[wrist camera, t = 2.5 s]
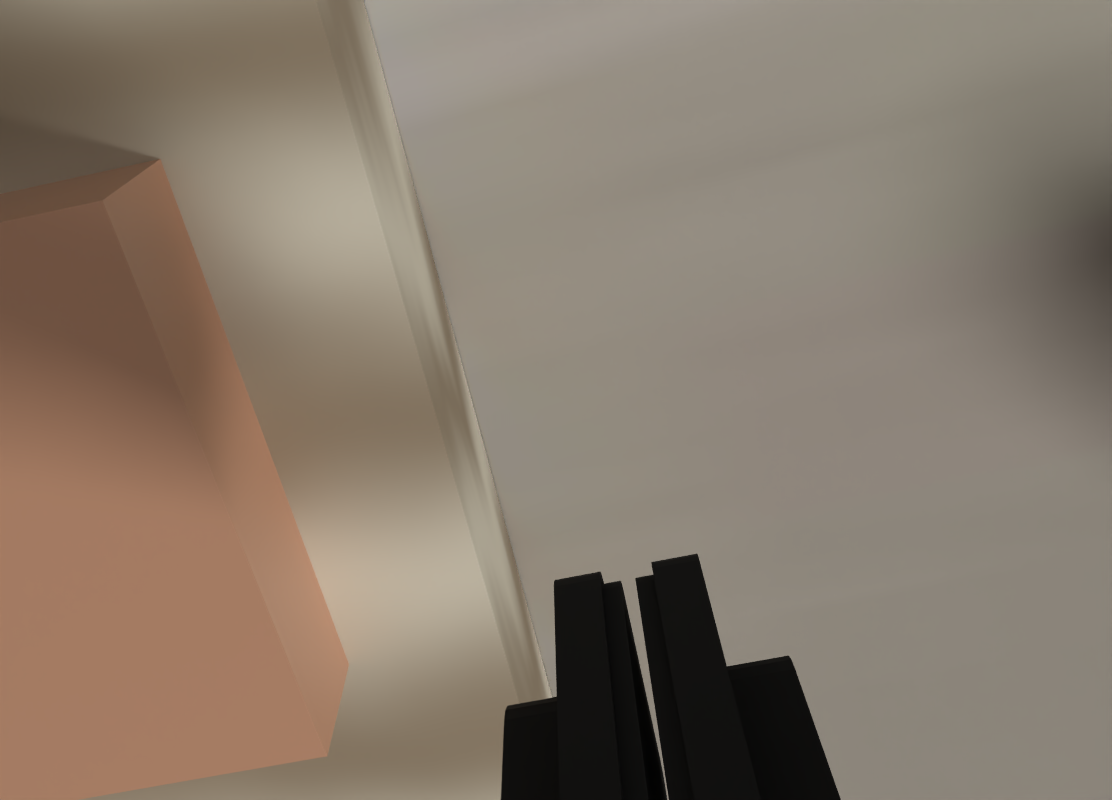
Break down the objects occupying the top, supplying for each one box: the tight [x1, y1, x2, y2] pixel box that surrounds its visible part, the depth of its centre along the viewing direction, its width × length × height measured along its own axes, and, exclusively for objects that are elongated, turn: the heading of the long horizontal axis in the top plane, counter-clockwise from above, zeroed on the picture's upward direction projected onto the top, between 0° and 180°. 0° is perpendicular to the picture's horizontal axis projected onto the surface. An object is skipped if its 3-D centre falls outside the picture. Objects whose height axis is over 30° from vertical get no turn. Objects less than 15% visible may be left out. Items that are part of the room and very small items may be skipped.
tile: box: [0, 159, 349, 800], centre depth 17 cm, size 10×7×2 cm
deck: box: [0, 0, 552, 800], centre depth 20 cm, size 22×14×4 cm, turn 12°
